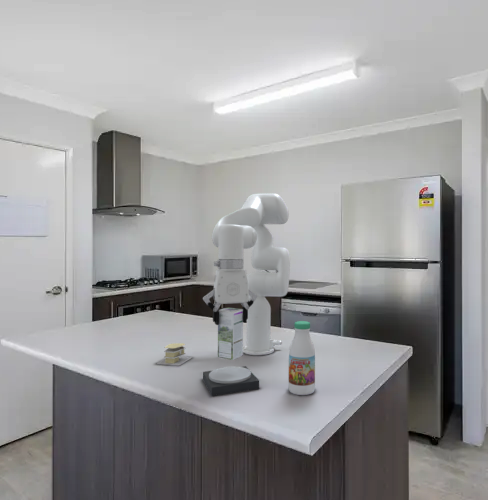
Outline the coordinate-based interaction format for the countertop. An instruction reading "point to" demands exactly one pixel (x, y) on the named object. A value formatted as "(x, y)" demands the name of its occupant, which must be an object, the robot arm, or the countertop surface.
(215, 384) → the scale
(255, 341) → the robot arm
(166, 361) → the stacked layers on plate
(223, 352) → the syrup box
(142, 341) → the countertop surface
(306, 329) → the milk bottle
